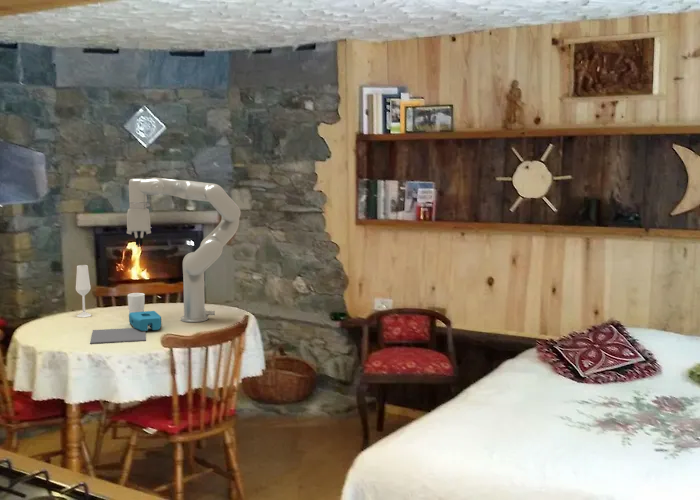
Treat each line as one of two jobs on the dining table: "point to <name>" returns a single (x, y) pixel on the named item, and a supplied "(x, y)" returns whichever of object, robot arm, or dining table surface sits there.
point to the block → (145, 320)
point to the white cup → (136, 302)
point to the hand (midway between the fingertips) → (139, 246)
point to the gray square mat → (117, 335)
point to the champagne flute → (83, 286)
